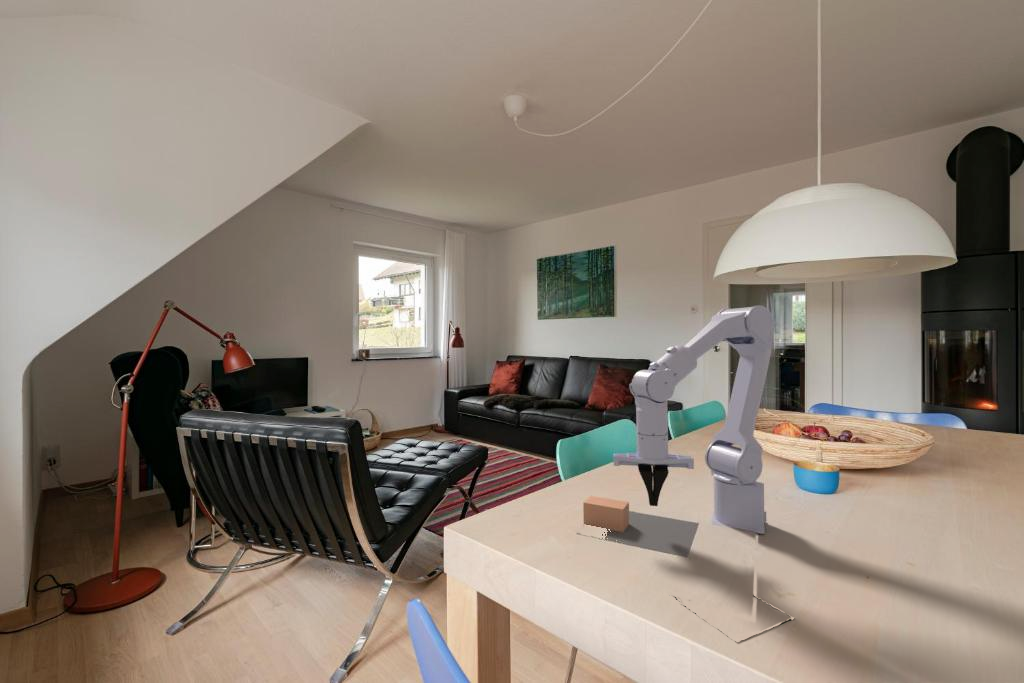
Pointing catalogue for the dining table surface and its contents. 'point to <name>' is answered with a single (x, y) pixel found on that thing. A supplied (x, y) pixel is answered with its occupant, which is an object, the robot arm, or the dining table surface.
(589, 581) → the dining table surface
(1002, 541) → the dining table surface
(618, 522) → the terracotta block
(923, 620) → the dining table surface
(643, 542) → the charcoal mat
